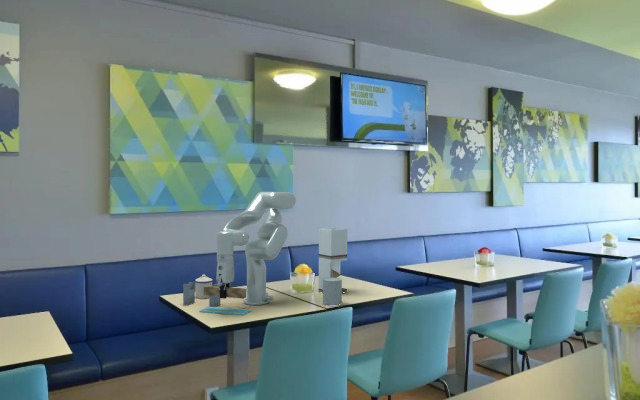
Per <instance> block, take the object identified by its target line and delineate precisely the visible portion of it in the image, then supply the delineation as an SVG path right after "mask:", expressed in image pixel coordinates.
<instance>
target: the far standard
mask: <svg viewBox="0 0 640 400" xmlns="http://www.w3.org/2000/svg"><path fill="white" fill-rule="evenodd" d="M182 287H183V288H182V290H183V293H182V294H183V295H182V296H183V300H182V302H183V303H182V305H184V306H191V305H192V304H194V303H195V301H196V299H195V298H196V297H195V281H193V282H190V281H189V282H188V283H184V284H182Z"/></svg>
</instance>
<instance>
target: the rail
mask: <svg viewBox="0 0 640 400" xmlns="http://www.w3.org/2000/svg"><path fill="white" fill-rule="evenodd" d="M226 290H227V298H231V299H232V298H233V299H243V300H245V299H247V288H245V287H244V288H241V287H226ZM204 295H207V296H218V297H220V290H219V286H214V285H212V286H209V285H207V286H204Z"/></svg>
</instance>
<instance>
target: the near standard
mask: <svg viewBox="0 0 640 400" xmlns="http://www.w3.org/2000/svg"><path fill="white" fill-rule="evenodd" d="M217 284H218V283H213V286H218V285H217ZM208 299H209V301H208V304H209V305H208V307H218V306H220V305H221V298H220V297H218V296H209V298H208Z"/></svg>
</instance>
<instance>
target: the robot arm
mask: <svg viewBox="0 0 640 400" xmlns="http://www.w3.org/2000/svg"><path fill="white" fill-rule="evenodd" d="M296 203H297V197H296V195H295V194H294V193H292V192H289V191H260V192H257V194H256V195H255V196H254V198H253V199H252V200H251V201H250V203H249V204H248V206H247V207H246V209H245V210H244V211H243V212H241V213H239V214H237V215H236V216H235V217H233V218H232V219H231V220H229V221H227V223H226V224H225V226H224V227H223V229H222V230H220V231H218V232H217V233H216V262H217V266H216V284H217V285H218V286H219V290H220V299H225V300H226V299H227V298H228V297H227V290H226V287H231V286H232V285H231V284H232V282H234V281H235V264H234V262H235V261H234V247H243V246H244V252H245V253H244V254H245V258H246V259H245V260H246V298H244V299H243V303H244V304H245V305H249V306H261V305H266V304H269V303H270V301H274V299H275V297H274V296H273V295H269V293H268V292H267V265H266V263H265V260H267V261H272V260H275V259H276V257H278V256H279V254H280V252H281V250H282V248H283V247H284V245H285V243H286V242H287V238H288V228H287V226H286V225H285V224H283V223H282V222H283V215H282V212H281V210H287V209H292V208H294V207H295V205H296ZM266 211H267V213H266ZM265 213H266V216H265V217H264V216H263V215H264V214H265ZM262 217H264V219H263V221H262V222H261V225H260V226H259V228H258V230H257V233H256V235H257V238H258V239H257V238H254V239H250V235H249V233H248V232H247V231H246V230H243V228H246V227H248V226H252V225H255V224H256V223H258V222H259V221H260V220H261V218H262Z"/></svg>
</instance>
